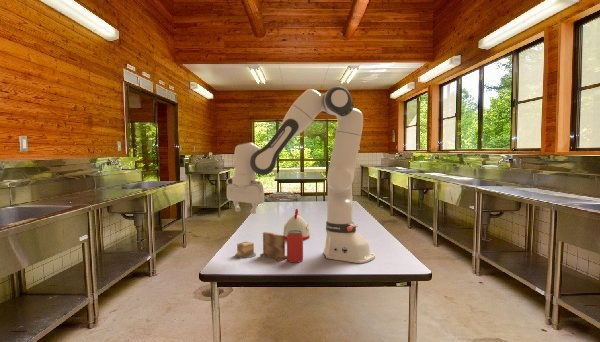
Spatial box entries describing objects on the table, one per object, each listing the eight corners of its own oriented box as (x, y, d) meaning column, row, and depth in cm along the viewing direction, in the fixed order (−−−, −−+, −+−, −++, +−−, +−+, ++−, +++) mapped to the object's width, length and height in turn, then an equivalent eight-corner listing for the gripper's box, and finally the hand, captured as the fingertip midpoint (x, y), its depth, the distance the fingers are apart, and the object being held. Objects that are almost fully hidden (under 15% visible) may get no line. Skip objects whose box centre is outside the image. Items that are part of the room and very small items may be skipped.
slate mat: (260, 254, 147) (260, 254, 147) (244, 259, 140) (244, 259, 140) (245, 250, 153) (245, 250, 153) (230, 255, 146) (230, 255, 146)
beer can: (294, 257, 144) (294, 229, 143) (306, 260, 140) (306, 231, 139) (283, 260, 139) (283, 231, 138) (295, 264, 135) (295, 234, 134)
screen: (287, 258, 142) (287, 234, 141) (279, 261, 138) (279, 237, 137) (268, 253, 149) (268, 231, 148) (260, 256, 145) (260, 233, 144)
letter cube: (253, 254, 147) (253, 242, 147) (245, 257, 143) (245, 244, 143) (245, 252, 150) (245, 240, 150) (237, 255, 146) (237, 242, 146)
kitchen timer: (310, 234, 184) (310, 207, 183) (308, 241, 170) (308, 211, 170) (285, 234, 185) (285, 207, 185) (281, 240, 172) (281, 211, 171)
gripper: (267, 181, 141) (268, 213, 142) (234, 179, 154) (235, 209, 154) (256, 182, 136) (257, 216, 137) (223, 179, 149) (224, 211, 149)
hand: (245, 212), depth 146 cm, fingers open, 8 cm apart
